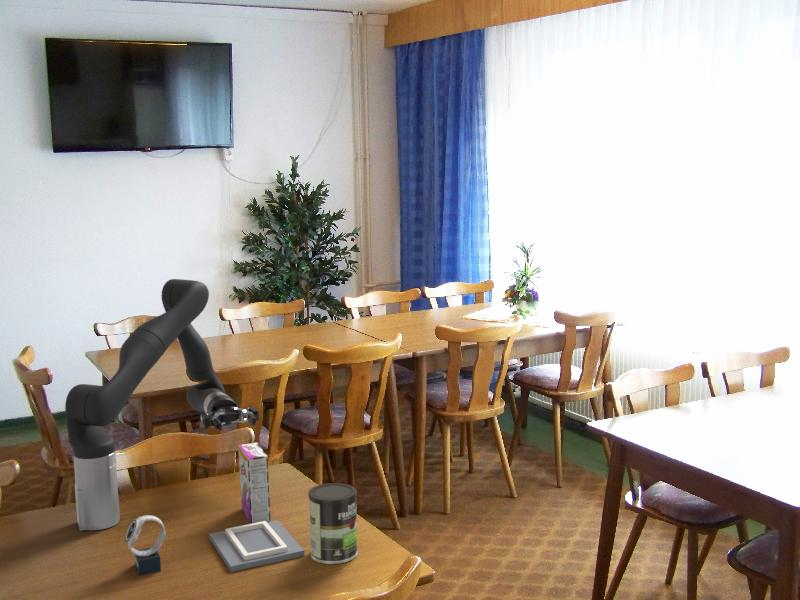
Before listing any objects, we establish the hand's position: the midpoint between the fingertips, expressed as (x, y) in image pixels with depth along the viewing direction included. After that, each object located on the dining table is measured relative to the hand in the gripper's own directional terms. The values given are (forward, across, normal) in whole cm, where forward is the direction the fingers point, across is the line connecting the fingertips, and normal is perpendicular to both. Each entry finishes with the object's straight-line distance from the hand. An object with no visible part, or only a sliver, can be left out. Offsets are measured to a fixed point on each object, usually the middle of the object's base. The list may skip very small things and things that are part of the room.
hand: (237, 424), depth 211 cm
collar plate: (+31, -5, +19) cm, 36 cm away
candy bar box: (+14, 0, +19) cm, 23 cm away
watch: (+30, -28, +19) cm, 45 cm away
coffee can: (+42, +9, +19) cm, 47 cm away
